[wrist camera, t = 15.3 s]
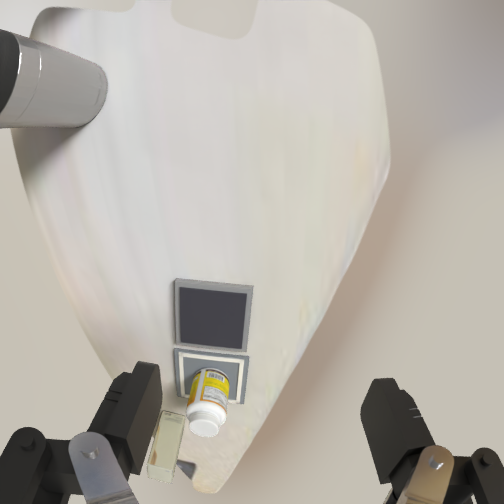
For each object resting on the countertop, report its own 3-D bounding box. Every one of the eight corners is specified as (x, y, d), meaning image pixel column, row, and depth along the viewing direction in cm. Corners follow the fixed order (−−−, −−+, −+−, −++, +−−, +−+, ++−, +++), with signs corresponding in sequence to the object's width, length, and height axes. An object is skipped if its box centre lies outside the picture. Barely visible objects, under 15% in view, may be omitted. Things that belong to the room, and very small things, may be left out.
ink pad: (178, 340, 43) (176, 345, 42) (176, 278, 40) (174, 282, 39) (246, 348, 43) (246, 353, 42) (253, 285, 40) (253, 290, 39)
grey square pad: (178, 393, 47) (177, 397, 46) (175, 347, 44) (173, 351, 43) (244, 401, 47) (243, 404, 46) (249, 356, 44) (249, 359, 43)
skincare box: (162, 409, 49) (146, 462, 37) (186, 415, 49) (173, 469, 37) (161, 428, 51) (146, 478, 39) (183, 434, 51) (171, 485, 39)
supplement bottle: (201, 393, 46) (191, 441, 36) (188, 368, 44) (175, 417, 34) (234, 388, 45) (230, 439, 36) (223, 363, 44) (216, 414, 34)
